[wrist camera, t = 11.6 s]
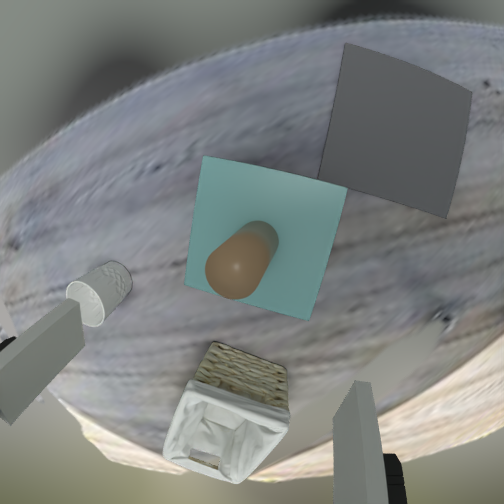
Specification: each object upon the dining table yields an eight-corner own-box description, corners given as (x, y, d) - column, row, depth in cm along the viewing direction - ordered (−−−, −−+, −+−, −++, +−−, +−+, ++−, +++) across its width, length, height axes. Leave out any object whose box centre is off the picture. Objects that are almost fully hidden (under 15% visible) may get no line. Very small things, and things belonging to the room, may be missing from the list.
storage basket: (211, 330, 50) (181, 389, 36) (299, 364, 50) (294, 430, 36) (182, 407, 59) (158, 458, 45) (251, 433, 58) (238, 487, 45)
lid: (346, 187, 27) (359, 200, 18) (309, 316, 32) (301, 375, 22) (206, 155, 29) (156, 155, 20) (187, 281, 34) (142, 323, 25)
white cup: (92, 271, 50) (59, 294, 41) (116, 249, 48) (80, 272, 38) (118, 305, 52) (88, 333, 42) (143, 286, 49) (113, 315, 40)
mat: (470, 92, 30) (472, 92, 30) (444, 218, 37) (446, 218, 37) (345, 43, 32) (345, 42, 32) (317, 179, 39) (317, 180, 39)
